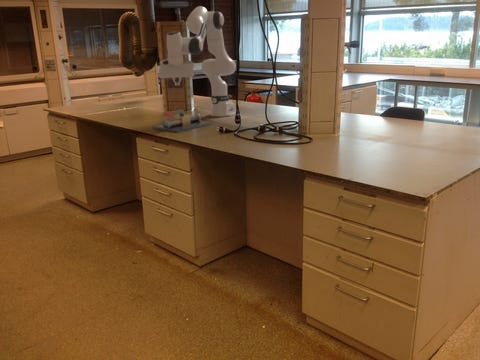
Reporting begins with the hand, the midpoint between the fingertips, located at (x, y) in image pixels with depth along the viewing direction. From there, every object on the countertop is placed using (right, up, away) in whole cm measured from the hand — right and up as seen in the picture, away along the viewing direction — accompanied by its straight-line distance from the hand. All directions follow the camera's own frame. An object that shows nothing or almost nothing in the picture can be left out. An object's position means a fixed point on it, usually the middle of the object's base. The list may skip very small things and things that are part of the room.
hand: (177, 85), depth 262 cm
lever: (-3, -16, +13) cm, 21 cm away
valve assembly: (+1, -22, +20) cm, 30 cm away
